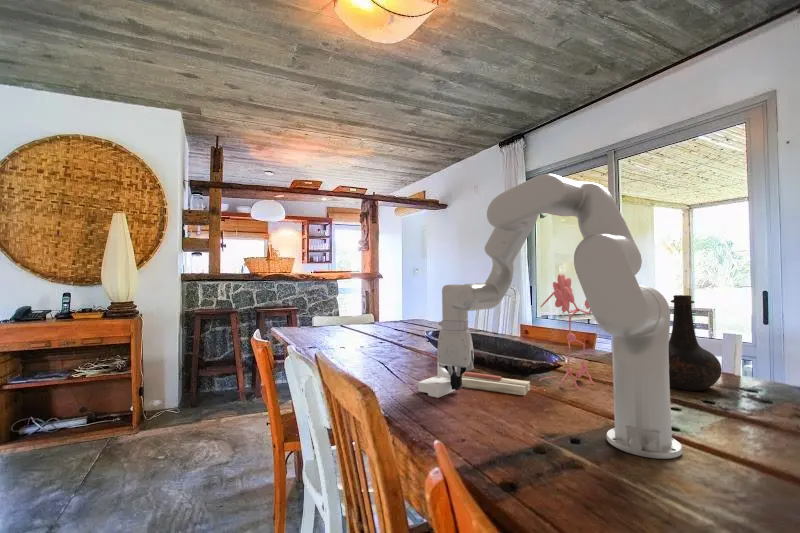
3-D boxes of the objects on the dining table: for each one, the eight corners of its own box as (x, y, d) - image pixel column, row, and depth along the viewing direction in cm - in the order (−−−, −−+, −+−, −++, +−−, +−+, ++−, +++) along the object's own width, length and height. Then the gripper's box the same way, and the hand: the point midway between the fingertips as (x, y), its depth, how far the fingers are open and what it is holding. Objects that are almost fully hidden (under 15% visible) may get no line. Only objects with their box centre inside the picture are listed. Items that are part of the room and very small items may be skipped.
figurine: (608, 380, 124) (602, 273, 126) (566, 395, 108) (560, 273, 110) (564, 372, 136) (559, 275, 138) (520, 385, 121) (515, 275, 123)
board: (524, 395, 109) (524, 386, 109) (447, 384, 121) (447, 376, 121) (530, 389, 115) (529, 381, 115) (456, 379, 127) (456, 372, 127)
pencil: (501, 379, 117) (501, 376, 117) (499, 380, 116) (499, 377, 116) (460, 373, 125) (460, 370, 125) (458, 374, 124) (458, 371, 124)
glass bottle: (637, 379, 125) (633, 294, 126) (692, 379, 125) (689, 293, 126) (673, 395, 107) (669, 296, 109) (739, 395, 107) (734, 295, 108)
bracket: (442, 384, 122) (441, 361, 123) (461, 388, 118) (461, 363, 118) (418, 394, 112) (417, 368, 113) (438, 398, 108) (438, 371, 108)
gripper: (426, 326, 113) (427, 388, 112) (474, 328, 105) (476, 395, 105) (437, 323, 120) (438, 382, 119) (483, 326, 112) (485, 389, 111)
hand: (456, 388), depth 112 cm, fingers closed
